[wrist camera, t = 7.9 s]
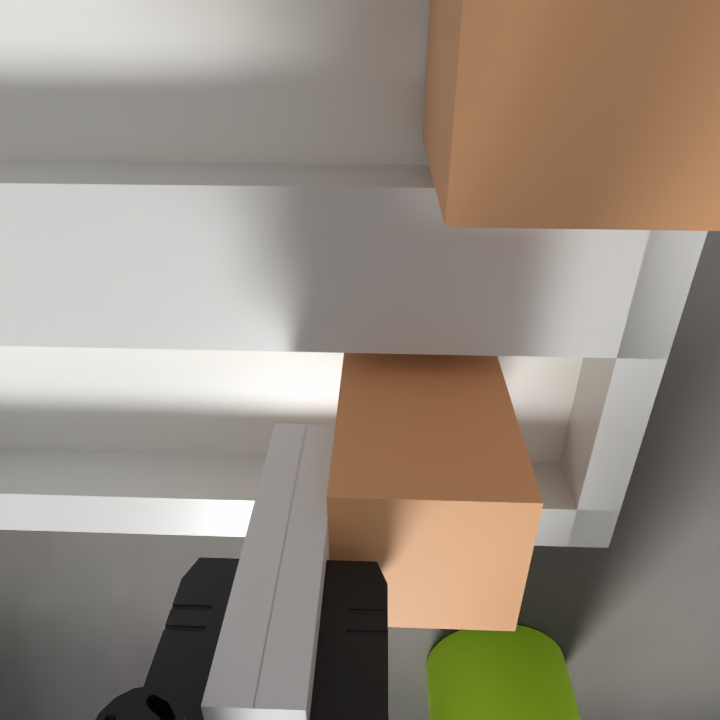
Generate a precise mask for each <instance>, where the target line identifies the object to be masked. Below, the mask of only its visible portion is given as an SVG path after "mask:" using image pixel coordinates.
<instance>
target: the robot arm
mask: <svg viewBox="0 0 720 720" xmlns="http://www.w3.org/2000/svg"><path fill="white" fill-rule="evenodd" d="M334 432H335V425H329V424H287V423H275V426H274V430H273V433H272V437H271V441H270V445H269V449H268V452H267V456H266V460H265V464H264V468H263V472H262V475H261V479H260V483H259V487H258V491H257V494H256V498H255V502H254V506H253V510H252V513H251V517H250V521H249V525H248V529H247V532H246V536H245V540H244V544H243V548H242V552H241V555H240V559H229V558H199V559H198V560H197V561H196V563H195V564H194V565H193V566H192V567H191V569H190V570H189V571H188V572H187V573H186V574H185V576H184V577H183V578H182V579H181V582H180V585H179V588H178V591H177V594H176V596H175V599H174V602H173V608H172V609H171V610H170V613H169V616H168V619H167V622H166V625H165V630H163V633H162V636H161V639H160V642H159V644H158V647H157V650H156V653H155V656H154V659H153V661H152V664H151V667H150V670H149V673H148V676H147V678H146V681H145V684H144V687H140V688H134V689H132V690H130V691H128V692H126V693H124V694H122V695H120V696H118V697H116V698H115V699H114V700H113V701H111V702H110V703H109V704H108V705H107V706H106V707H105V708H104V709H103V710H102V711H101V712H100V713H99V714H98V716H97V718H96V719H95V720H389V719H388V584H387V582H386V580H385V577H384V575H383V573H382V571H381V569H380V567H379V565H378V563H377V562H372V561H340V560H329V539H328V517H327V490H328V482H329V473H330V465H331V457H332V448H333V440H334Z"/></svg>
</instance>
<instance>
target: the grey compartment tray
mask: <svg viewBox="0 0 720 720" xmlns="http://www.w3.org/2000/svg"><path fill="white" fill-rule="evenodd" d="M429 12H430V0H0V530H33V531H66V532H100V533H133V534H166V535H199V536H232V537H245V536H246V532H247V529H248V525H249V521H250V517H251V513H252V510H253V506H254V502H255V498H256V494H257V491H258V487H259V483H260V479H261V475H262V472H263V468H264V464H265V460H266V456H267V452H268V449H269V445H270V441H271V437H272V433H273V430H274V426H275V423H287V424H329V425H335V423H336V415H337V407H338V398H339V390H340V382H341V373H342V365H343V357H344V353H380V354H429V355H479V356H497V357H498V360H499V363H500V366H501V370H502V373H503V376H504V379H505V382H506V386H507V389H508V392H509V395H510V398H511V402H512V405H513V408H514V411H515V414H516V418H517V421H518V424H519V427H520V430H521V434H522V437H523V440H524V443H525V446H526V450H527V453H528V456H529V459H530V462H531V465H532V469H533V472H534V475H535V478H536V481H537V485H538V488H539V491H540V494H541V497H542V501H543V507H542V512H541V516H540V521H539V526H538V530H537V535H536V539H535V544H534V546H564V547H597V548H609V544H610V541H611V538H612V535H613V532H614V528H615V525H616V522H617V519H618V516H619V513H620V509H621V506H622V503H623V500H624V497H625V493H626V490H627V487H628V484H629V481H630V477H631V474H632V471H633V468H634V465H635V462H636V458H637V455H638V452H639V449H640V446H641V442H642V439H643V436H644V433H645V430H646V427H647V423H648V420H649V417H650V414H651V411H652V407H653V404H654V401H655V398H656V395H657V391H658V388H659V385H660V382H661V379H662V376H663V372H664V369H665V366H666V363H667V360H668V356H669V353H670V350H671V347H672V344H673V340H674V337H675V334H676V331H677V328H678V325H679V321H680V318H681V315H682V312H683V309H684V305H685V302H686V299H687V296H688V293H689V290H690V286H691V283H692V280H693V277H694V274H695V270H696V267H697V264H698V261H699V258H700V254H701V251H702V248H703V245H704V242H705V239H706V235H707V232H708V231H677V230H602V229H528V228H453V227H445V225H444V221H443V217H442V213H441V210H440V206H439V202H438V198H437V194H436V190H435V187H434V183H433V179H432V175H431V171H430V167H429V164H428V160H427V156H426V152H425V148H424V144H423V125H424V106H425V87H426V69H427V50H428V31H429Z"/></svg>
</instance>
